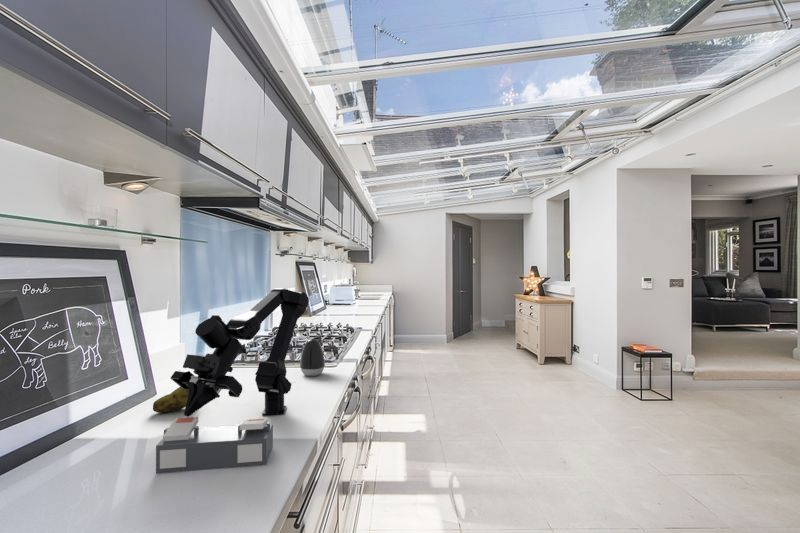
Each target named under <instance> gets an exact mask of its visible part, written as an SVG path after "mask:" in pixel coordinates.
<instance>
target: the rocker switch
mask: <svg viewBox="0 0 800 533" xmlns="http://www.w3.org/2000/svg"><path fill="white" fill-rule="evenodd" d="M267 422H269V418H265V417H264V418H250V419H245V421H243V422H241V423H239V424H240V430H252V429H263V428H264V427H265V426H266V425H267Z"/></svg>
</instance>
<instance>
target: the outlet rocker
mask: <svg viewBox="0 0 800 533" xmlns="http://www.w3.org/2000/svg"><path fill="white" fill-rule="evenodd" d="M198 423H199V416H191V417H190V416H189V417H188V416H185V417H175V419H174V420H173V421H172V423H171V424H170V426H169V427H167V428H168V430H167V431H166V433H165V434H164V433H163V435H162V439H163V441H174V440H188V438H189V437H190V435H191V433H192V432H193V430H194V428H195V427H196V426H198Z"/></svg>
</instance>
